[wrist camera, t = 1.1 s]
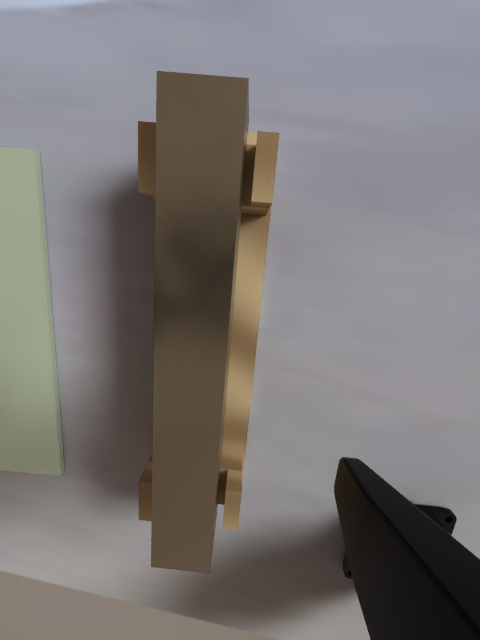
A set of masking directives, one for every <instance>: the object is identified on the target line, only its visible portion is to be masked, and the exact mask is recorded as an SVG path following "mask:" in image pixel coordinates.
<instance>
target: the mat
mask: <svg viewBox="0 0 480 640" xmlns="http://www.w3.org/2000/svg"><path fill="white" fill-rule="evenodd" d="M0 470H1V471H12V472H22V473H32V474H42V475H53V476H62V475H63V473H64V472H65V468H64V456H63V443H62V430H61V417H60V405H59V392H58V379H57V366H56V354H55V341H54V328H53V316H52V303H51V290H50V277H49V265H48V252H47V239H46V226H45V214H44V201H43V188H42V175H41V163H40V152H38V151H36V150H32V149H20V148H8V147H0Z"/></svg>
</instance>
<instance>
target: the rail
mask: <svg viewBox="0 0 480 640" xmlns="http://www.w3.org/2000/svg"><path fill="white" fill-rule="evenodd" d="M248 125H249V78H237V77H225V76H213V75H200V74H188V73H176V72H163V71H157V101H156V189H155V276H154V364H153V452H152V539H151V567H157V568H167V569H176V570H186V571H196V572H206V573H210V566H211V558H212V550H213V542H214V534H215V526H216V518H217V506H218V494H219V482H220V470H221V457H222V445H223V433H224V420H225V408H226V396H227V384H228V371H229V359H230V347H231V334H232V322H233V310H234V298H235V285H236V273H237V261H238V248H239V236H240V224H241V211H242V199H243V187H244V175H245V162H246V150H247V138H248Z"/></svg>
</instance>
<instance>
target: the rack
mask: <svg viewBox="0 0 480 640" xmlns="http://www.w3.org/2000/svg"><path fill="white" fill-rule="evenodd" d="M278 141H279V133H274V132H262V131H258V132H257V133H249V132H248V138H247V150H246V162H245V175H244V187H243V199H242V211H241V224H240V236H239V248H238V261H237V273H236V285H235V298H234V310H233V322H232V334H231V347H230V359H229V371H228V384H227V396H226V408H225V420H224V433H223V445H222V457H221V470H220V482H219V494H218V504H223V505H224V515H223V527H222V528H226V529H236V530H238V521H239V512H240V502H241V493H242V479H243V469H244V460H245V450H246V441H247V431H248V422H249V412H250V403H251V393H252V384H253V374H254V364H255V355H256V345H257V336H258V326H259V317H260V307H261V298H262V288H263V279H264V269H265V260H266V250H267V241H268V231H269V221H270V212H271V204H272V198H273V189H274V179H275V170H276V160H277V151H278ZM155 189H156V123H154V122H142V121H138V192H140V193H142V194H144V195H145V196H147V197H149V198H151V199H153V200H155ZM139 520H145V521H152V456H151V458H150V460H149V462H148V464H147V466H146V468H145V470H144V472H143V474H142V477H141V479H140V481H139Z"/></svg>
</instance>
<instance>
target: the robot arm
mask: <svg viewBox="0 0 480 640" xmlns="http://www.w3.org/2000/svg"><path fill="white" fill-rule="evenodd" d="M334 494H335V500H336V504H337V509H338V514H339V519H340V524H341V529H342V534H343V539H344V543H345V548H346V554H345V558H344V562H343V572H344V575H345V576H346V577H347V578H350V579H353V582H354V586H355V589H356V592H357V596H358V599H359V602H360V605H361V609H362V612H363V615H364V619H365V622H366V625H367V629H368V632H369V635H370V639H371V640H480V559H479V558H477V557H476V556H475V555H474V554H473V553H471V552H470V551H469V550H468V549H467V548H465V547H464V546H463V545H462V544H461V543H459V542H458V541H457V540H456V539H455V538H453V537H452V536H451V535H452V532H453V529H454V526H455V523H456V519H457V518H456V516H455V515H454V513H453V512H452V511H451V510H450V509H447V508H438V507H427V506H417V505H414V504H412V503H411V502H410V501H409V500H408V499H406V498H405V497H404V496H403V495H402V494H400V493H399V492H398V491H397V490H396V489H394V488H393V487H392V486H391V485H390V484H388V483H387V482H386V481H385V480H384V479H382V478H381V477H380V476H379V475H378V474H376V473H375V472H374V471H373V470H372V469H370V468H369V467H368V466H367V465H366V464H364V463H363V462H362V461H361V460H359V459H357V458H348V457H343V458H341V459H340V461H339V464H338V469H337V474H336V480H335V485H334Z"/></svg>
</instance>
